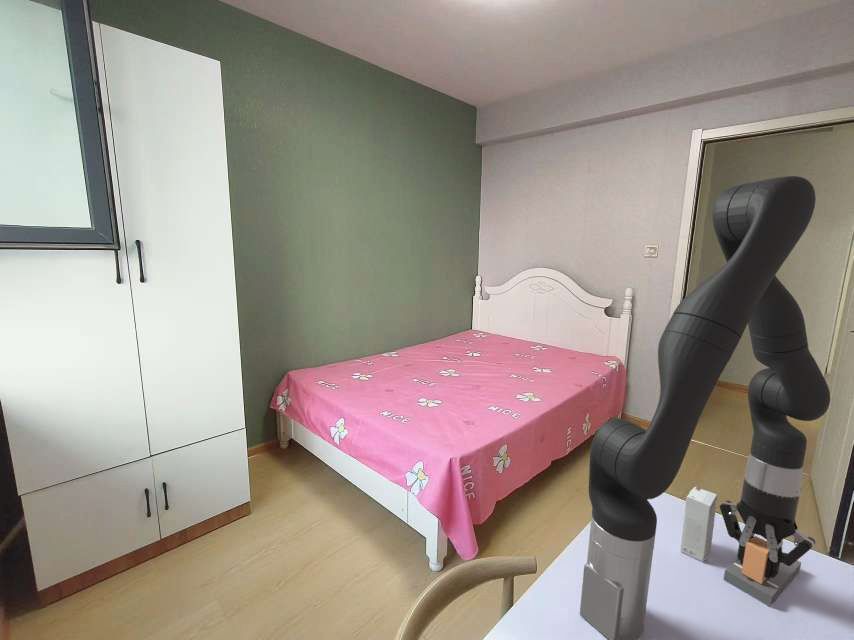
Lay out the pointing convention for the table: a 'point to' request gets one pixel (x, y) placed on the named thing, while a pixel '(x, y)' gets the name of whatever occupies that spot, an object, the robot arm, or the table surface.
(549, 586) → the table surface
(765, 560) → the fader tab
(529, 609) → the table surface
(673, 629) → the table surface
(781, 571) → the fader console
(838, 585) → the table surface
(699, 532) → the skincare box
